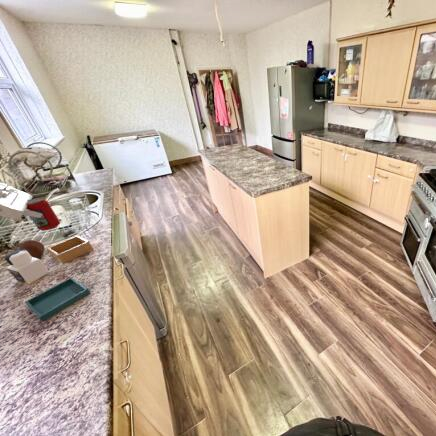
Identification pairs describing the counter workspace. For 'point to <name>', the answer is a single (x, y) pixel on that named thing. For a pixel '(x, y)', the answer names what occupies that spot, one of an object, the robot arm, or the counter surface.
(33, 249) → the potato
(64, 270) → the counter surface
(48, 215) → the beverage can
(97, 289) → the counter surface
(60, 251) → the basket
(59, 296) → the tray
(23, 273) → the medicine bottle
